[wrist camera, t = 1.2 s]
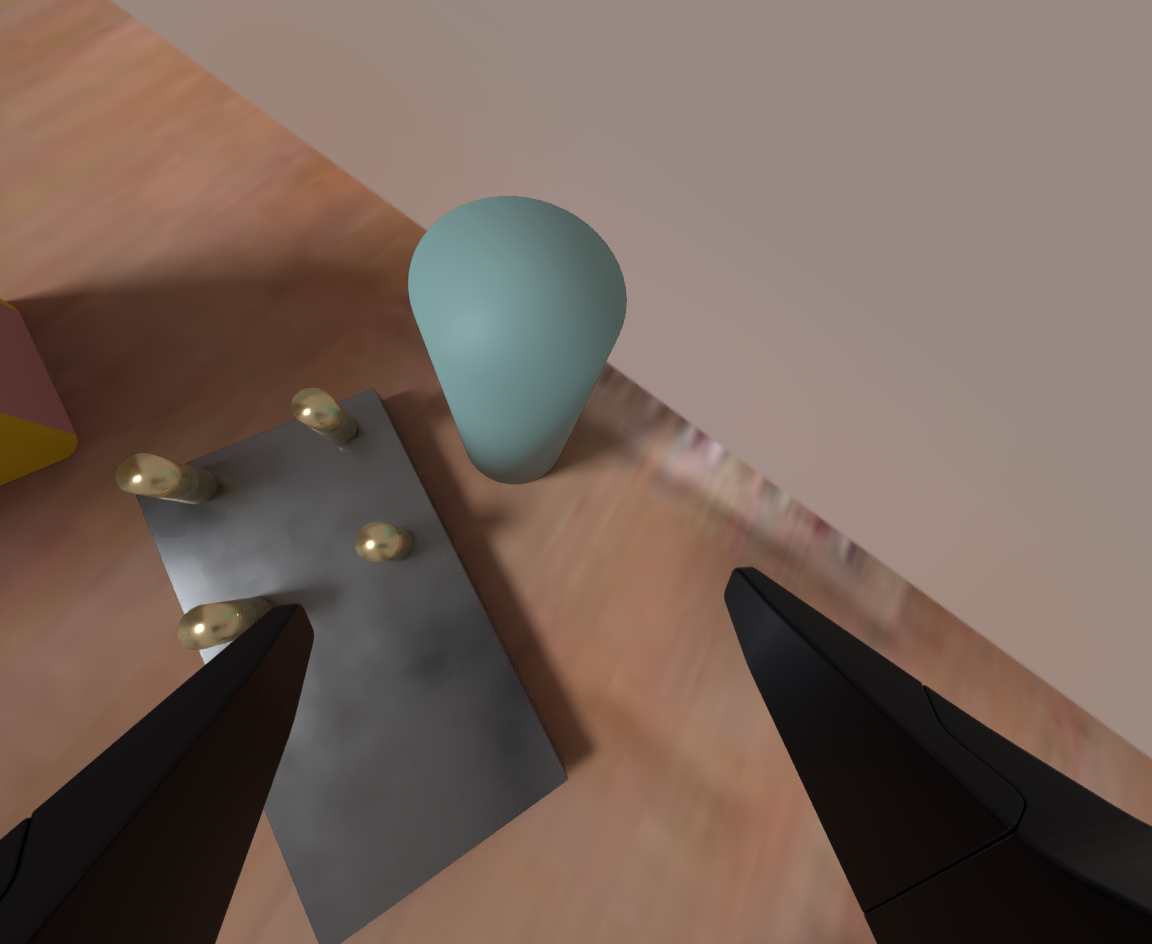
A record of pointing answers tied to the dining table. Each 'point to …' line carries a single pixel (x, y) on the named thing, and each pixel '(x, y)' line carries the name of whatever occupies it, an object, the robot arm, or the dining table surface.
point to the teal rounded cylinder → (516, 326)
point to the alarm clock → (28, 405)
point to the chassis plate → (354, 650)
